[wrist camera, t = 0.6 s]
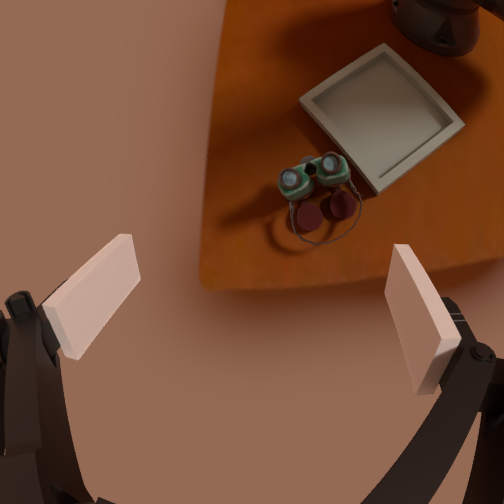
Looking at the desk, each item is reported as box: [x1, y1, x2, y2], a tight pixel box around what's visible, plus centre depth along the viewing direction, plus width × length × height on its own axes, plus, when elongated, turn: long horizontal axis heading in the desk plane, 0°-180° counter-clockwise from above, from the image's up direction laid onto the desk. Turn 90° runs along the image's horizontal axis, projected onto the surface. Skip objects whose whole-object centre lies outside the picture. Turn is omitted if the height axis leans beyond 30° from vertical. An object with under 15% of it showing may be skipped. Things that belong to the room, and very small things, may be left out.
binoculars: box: [278, 152, 362, 245], centre depth 34 cm, size 9×11×10 cm
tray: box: [299, 43, 465, 196], centre depth 35 cm, size 16×16×2 cm
